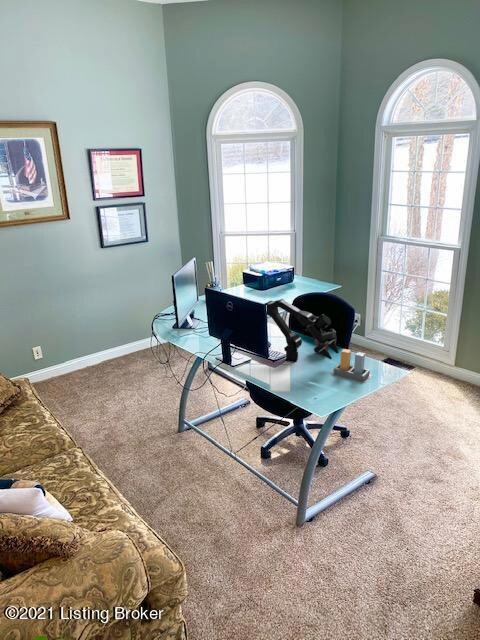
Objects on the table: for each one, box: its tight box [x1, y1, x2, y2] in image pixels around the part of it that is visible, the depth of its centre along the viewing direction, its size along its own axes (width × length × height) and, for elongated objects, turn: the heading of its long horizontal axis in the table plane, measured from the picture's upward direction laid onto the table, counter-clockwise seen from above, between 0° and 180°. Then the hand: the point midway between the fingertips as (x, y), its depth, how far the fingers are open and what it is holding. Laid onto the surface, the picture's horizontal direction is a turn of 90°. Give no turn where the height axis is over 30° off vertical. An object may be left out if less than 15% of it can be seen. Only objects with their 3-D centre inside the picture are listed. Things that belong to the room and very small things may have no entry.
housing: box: [329, 362, 373, 384], centre depth 258 cm, size 20×12×4 cm, turn 56°
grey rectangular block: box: [353, 351, 366, 375], centre depth 254 cm, size 5×5×13 cm
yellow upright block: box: [339, 348, 352, 371], centre depth 258 cm, size 5×5×13 cm
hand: (334, 355), depth 261 cm, fingers open, 9 cm apart
